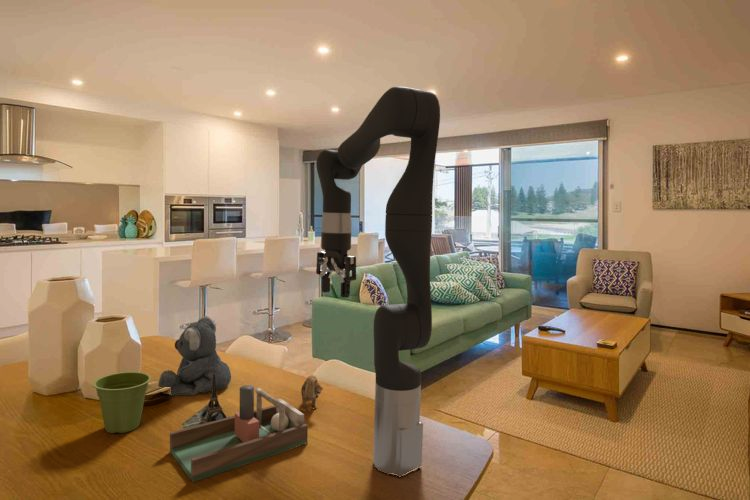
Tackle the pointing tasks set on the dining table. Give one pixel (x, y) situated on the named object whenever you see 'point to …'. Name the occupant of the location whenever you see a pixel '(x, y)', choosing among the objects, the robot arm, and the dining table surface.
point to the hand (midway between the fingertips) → (335, 294)
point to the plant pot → (122, 399)
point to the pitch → (237, 440)
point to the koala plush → (197, 361)
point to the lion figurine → (310, 391)
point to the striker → (246, 416)
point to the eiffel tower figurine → (207, 410)
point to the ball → (276, 422)
